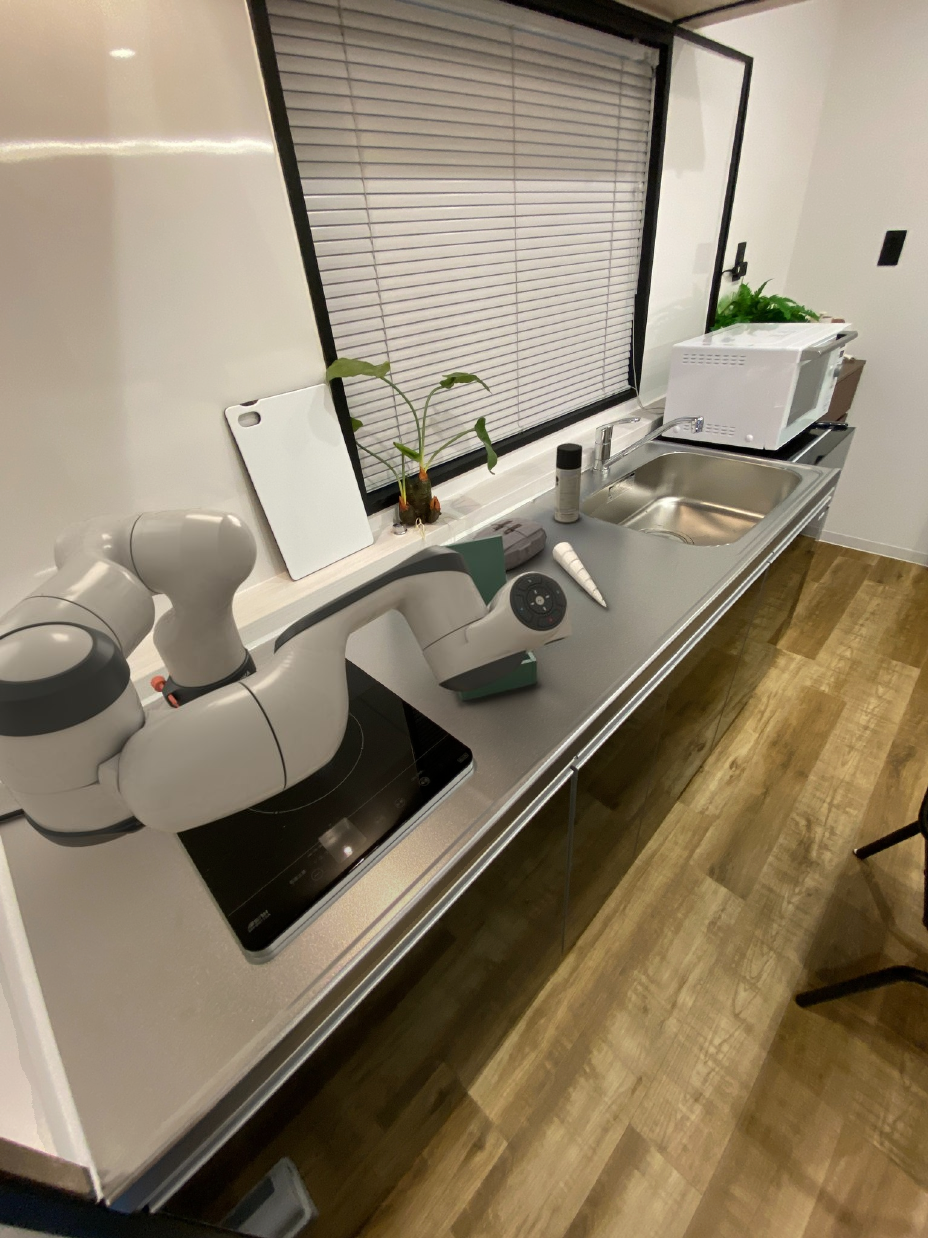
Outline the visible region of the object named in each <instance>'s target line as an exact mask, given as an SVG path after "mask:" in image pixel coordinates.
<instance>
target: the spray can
mask: <svg viewBox="0 0 928 1238" xmlns="http://www.w3.org/2000/svg"><path fill="white" fill-rule="evenodd" d="M582 459H583V445H581V444H579V443H578V444H577V443H572V442H566V443H561V444H559V445H557V447H556V457H555V480H554V481H555V482H554V483H555V485H554V520H555V521H556V522H558V523H563V524H569V523H573V522H576V521H577V520H578V519H579V517H580V516H579V515H580V500H581V499H580V498H581V497H580V496H581V479H582V466H583V460H582Z"/></svg>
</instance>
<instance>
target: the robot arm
mask: <svg viewBox="0 0 928 1238" xmlns="http://www.w3.org/2000/svg"><path fill="white" fill-rule="evenodd" d="M443 546H444V545H440V544H439V545H438V544H434V545H433V544H432V545H429V546H427V547H424V548H420V549H419V550H417V551H415V552H414V553H411V554H410V555H409V556H407V557H406V558H404V559H403V560H402V561H401V562H399V563H398V564H396V565H394V566H393V567H391V568H389V569H387V570H386V571H384V572H383V573H381V574H378V575H377V576H375V577H373V578H371V579H369V580H367V581H365V582H363V583H361V584H360V585H358V586H355V587H354V588H352V589H349V590H348V591H346V592H344V593H343V594H341V595H339V596H337V597H335V598H333V599H331V600H330V601H328V602H326V603H325V604H322V605H320V606H319V607H318V608H316V609H314V610H312V611H311V612H309V613H307V614H305V615H304V616H302V617H300V618H299V619H297V620H296V621H294V622H293V623H291V625H289V626H288V627H287V628H286V629H285V630H284V631H282V633H280V635H279V636H278V637H277V638H276V639H275V641H274V648H273V655H272V657H271V658H270V659H269V660H268V661H267V662H266V663H265V664H264V665H263V666H262V667H261V668H259V669H258V670H257V666H256V663H255V661H254V659H253V656H252V654H251V653H250V651H249V650H248V648H246V647H245V645H244V643H243V641H242V638H241V635H240V633H239V629H238V627H237V623H236V620H235V616H234V612H233V611H234V610H233V602H234V597H235V595H236V592H237V591H238V589H239V588H240V586H241V585H243V584H244V582H245V581H246V580H248V578H249V577H250V576H251V574H252V572H253V570H254V569H255V567H256V562H257V557H258V547H257V542H256V538H255V536H254V533H253V531H252V529H251V527H250V526H249V525H248V524H247V522H246V521H245V520H244V519H243V518H241V516H240V515H238V514H236V513H233V512H229V511H223V510H217V509H209V508H201V507H200V508H197V507H196V508H183V509H167V510H166V509H165V510H152V511H141V512H140V511H139V512H125V513H123V512H122V513H110V514H109V513H108V514H101V515H96V516H93V517H89V518H86V519H82V520H79V521H76V522H73V523H69V524H68V525H66V526H64V527H63V528H62V529H61V531H60V532H59V533H58V535H57V537H56V539H55V542H54V545H53V559H54V563H55V567H56V570H57V572H55V574H53V575H52V576H51V577H49V578H48V579H47V580H46V581H45V582H43V583H42V584H41V585H40V586H38V587H37V588H36V589H34V590H33V591H32V592H31V593H29V595H27V596H26V597H24V598H23V599H22V600H21V601H19V602H18V603H16V604H15V605H14V606H13V607H11V609H9V610H8V611H7V612H6V613H4V614H3V615H2V616H1V617H0V782H1V783H2V784H3V785H4V786H5V788H6V789H7V791H8V792H9V793H10V795H11V796H12V798H13V799H14V801H15V802H16V803H17V804H18V806H19V807H20V808H19V809H15V810H13V811H9V812H7V813H4V814H1V815H0V822H3V821H6V820H9V819H12V818H15V817H18V816H21V815H24V817H25V820H26V821H27V823H28V824H29V825H30V826H31V827H32V828H33V830H35V831H36V832H37V833H38V834H40V836H42V837H43V838H44V839H46V840H48V841H49V842H51V843H53V844H56V845H57V846H60V847H67V848H85V847H93V846H97V845H98V846H99V845H102V844H106V843H110V842H112V841H115V840H118V839H120V838H122V837H125V836H127V835H131V834H135V833H137V832H139V831H141V830H143V829H144V828H147V827H148V828H149V829H151V830H153V831H155V832H159V833H163V834H164V833H165V834H177V833H181V832H185V831H188V830H191V829H195V828H198V827H201V826H204V825H207V824H210V823H213V822H215V821H219V820H221V819H224V818H226V817H229V816H231V815H234V814H237V813H239V812H241V811H244V810H246V809H248V808H250V807H253V806H255V805H258V804H260V803H263V802H264V801H266V800H268V799H270V798H272V797H274V796H276V795H278V794H280V793H282V792H284V791H286V790H288V789H290V788H291V787H293V786H295V785H297V784H298V783H300V782H302V781H304V780H305V779H307V778H308V777H310V776H312V775H313V774H314V773H316V772H317V771H319V770H320V769H322V768H323V767H325V766H326V765H327V764H328V763H330V761H331V760H332V759H333V758H334V756H335V755H336V753H338V750H339V749H340V747H341V744H342V742H343V739H344V736H345V734H346V729H347V726H348V725H347V724H348V718H349V709H350V708H349V707H350V706H349V704H350V701H349V690H348V689H349V688H348V682H347V681H348V680H347V672H346V669H347V668H346V651H347V643H348V639H349V637H350V635H351V634H353V633H354V632H356V631H358V630H359V629H361V628H363V627H364V626H366V625H368V624H369V623H370V624H371V622H373V621H374V620H377V619H378V618H380V617H382V616H383V615H385V614H386V613H388V612H389V611H391V610H395V611H398V612H399V613H400V614H401V615H402V616H403V617H404V618H405V620H406V622H407V624H408V626H409V628H410V631H411V632H412V634H413V636H414V638H415V640H416V642H417V644H418V646H419V648H420V651H421V652H422V655H423V657H424V659H425V662H426V663H427V665H428V668H429V670H430V671H431V673H432V675H433V676H434V679H435V680H436V682H437V683H438V686H439V687H441V688H443V689H444V690H445V689H446V690H449V691H451V692H456V693H459V692H463V693H464V692H469V691H473V690H476V689H479V688H481V687H484V686H486V685H488V684H490V683H493V682H494V681H497V680H499V679H501V678H503V677H505V676H506V675H508V674H510V673H511V672H513V671H514V670H516V669H517V668H519V667H520V665H521V663H522V661H523V660H524V657H525V655H526V654H527V653H529V652H532V653H533V652H534V651H536V650H538V649H539V648H541V647H543V646H547V645H549V644H552V643H555V642H558V641H563V640H565V639H568V638H570V637H572V635H573V633H572V627H571V621H570V617H569V613H568V609H569V608H568V607H569V606H568V599H567V596H566V593H565V591H564V589H563V588H562V586H561V585H560V584H559V583H558V581H557V580H555V579H554V578H553V577H551V576H549V575H548V574H546V573H543V572H539V571H527V572H523V573H521V574H518V575H517V576H515V577H512V579H510V580H508V581H507V583H506V584H505V585H504V586H503V587H502V588H501V589H500V590H499V591H498V592H497V593H496V595H495V596H494V597H493V599H492V600H491V602H490V603H489V604H488V605H487V607H486V605H485V603H484V601H483V599H482V597H481V595H480V593H479V591H478V590H477V588H476V586H475V584H474V582H473V578H472V575H471V573H470V571H469V568H468V566H467V564H466V561H465V559H464V557H463V555H462V554H460V553H458V552H456V551H454V550H452V549H449V548H446V547H443ZM158 595H164V596H166V597H167V598H168V599H169V601H170V603H171V606H172V607H170V608H169V609H168V610H166V611H165V612H164V613H163V614H162V615H161V616H160V617H159V618H158V620H157V621H156V623H155V620H156V607H155V601H154V596H158ZM154 624H155V625H154ZM153 627H154V628H153ZM152 629H153V633H152V642H153V645H154V647H155V649H156V651H157V653H158V655H159V657H160V658H161V661H162V662H163V664H164V666H165V669H166V670H167V672H168V676H167V679H166V678H165V677H164V676H162V675H155V676H154V677H152V678H151V681H150V686H151V687H152V688H153V689H154V691H155V692H157V693H161V694H162V696H163V698H164V700H165V701H163V703H161V705H160V706H159V708H158V709H148V710H147V713H146V711H145V710H144V707H143V704H142V701H141V699H140V696H139V694H138V691H137V688H136V687H135V684H134V682H133V680H132V678H131V668H130V664H129V662H128V661H127V659H128V658H129V657H130V656H131V655H132V654H133V652H134V651H135V650H136V649H137V647H139V645H140V644H141V643H142V642H143V641H144V639H145V638H146V637H147V636H148V635H149V634H150V633H151V631H152Z"/></svg>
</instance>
